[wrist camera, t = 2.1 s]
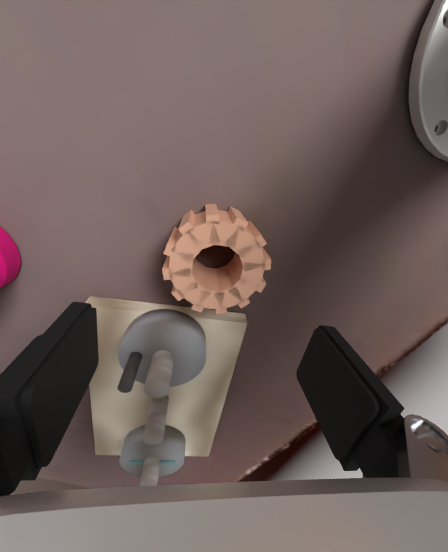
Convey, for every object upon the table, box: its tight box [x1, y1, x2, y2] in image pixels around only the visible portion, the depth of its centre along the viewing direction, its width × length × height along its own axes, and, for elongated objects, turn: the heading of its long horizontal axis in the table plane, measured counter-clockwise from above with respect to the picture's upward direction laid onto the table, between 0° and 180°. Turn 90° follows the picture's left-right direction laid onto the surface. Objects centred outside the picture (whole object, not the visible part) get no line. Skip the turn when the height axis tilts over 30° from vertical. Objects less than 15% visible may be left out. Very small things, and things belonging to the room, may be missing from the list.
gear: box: [162, 204, 271, 314], centre depth 17 cm, size 7×7×4 cm
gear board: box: [85, 296, 247, 486], centre depth 23 cm, size 14×23×6 cm, turn 169°
